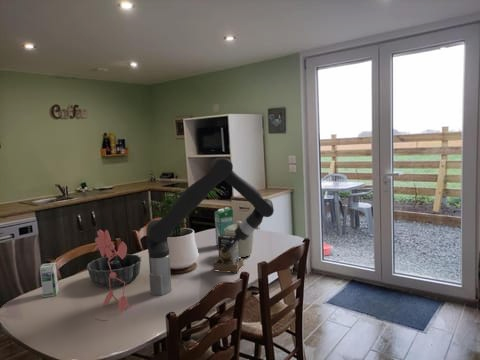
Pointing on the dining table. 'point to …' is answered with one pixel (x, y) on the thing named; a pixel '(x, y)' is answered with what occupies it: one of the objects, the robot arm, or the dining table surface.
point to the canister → (241, 241)
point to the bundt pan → (114, 270)
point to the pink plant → (105, 248)
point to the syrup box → (49, 279)
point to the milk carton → (223, 221)
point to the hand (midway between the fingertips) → (225, 249)
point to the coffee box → (231, 253)
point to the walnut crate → (228, 266)
